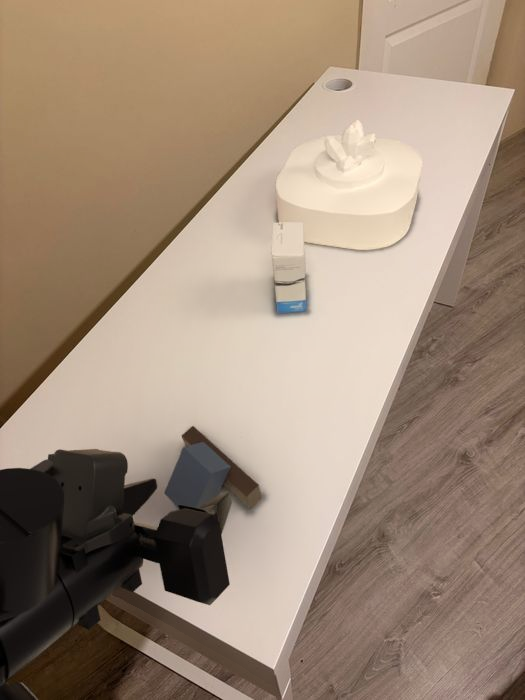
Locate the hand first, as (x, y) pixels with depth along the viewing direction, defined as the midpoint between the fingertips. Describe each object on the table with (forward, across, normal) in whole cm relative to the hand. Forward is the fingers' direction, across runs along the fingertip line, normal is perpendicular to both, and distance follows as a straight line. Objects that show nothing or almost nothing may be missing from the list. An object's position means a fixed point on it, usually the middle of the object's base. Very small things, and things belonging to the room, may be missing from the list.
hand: (190, 489), depth 47 cm
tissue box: (+62, +6, -28) cm, 69 cm away
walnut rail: (+14, +7, +6) cm, 17 cm away
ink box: (+41, +9, -13) cm, 44 cm away
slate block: (+9, +7, +4) cm, 12 cm away
